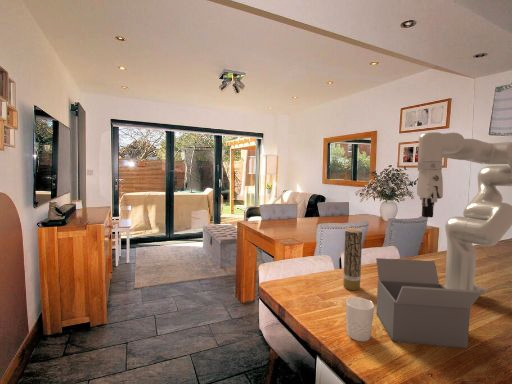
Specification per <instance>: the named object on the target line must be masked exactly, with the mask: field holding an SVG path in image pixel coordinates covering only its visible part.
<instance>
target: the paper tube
mask: <svg viewBox="0 0 512 384" xmlns="http://www.w3.org/2000/svg"><path fill="white" fill-rule="evenodd" d="M362 245H363V229H361V228H357V227H346V228H345V229H344V252H343V253H344V255H343V257H344V258H343V279H342V280H343V287H344V288H345V289H347V290H351V291H357V290H359V289H360V288H361V275H362V273H361V269H362V250H363V249H362Z"/></svg>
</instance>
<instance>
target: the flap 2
mask: <svg viewBox="0 0 512 384" xmlns="http://www.w3.org/2000/svg"><path fill="white" fill-rule="evenodd" d="M481 294H482V292H481V291H476V290H460V289H443V288H427V287H411V286H402V288H401V290H400V293H399V295H398V298H397V300H396V304H410V305H424V306H439V307H453V308H467V309H470V310H471V308H472V306H473V305H474V303H475V302H476V301H477V300H478V299H479V297H480V295H481ZM477 298H478V299H477Z"/></svg>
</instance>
